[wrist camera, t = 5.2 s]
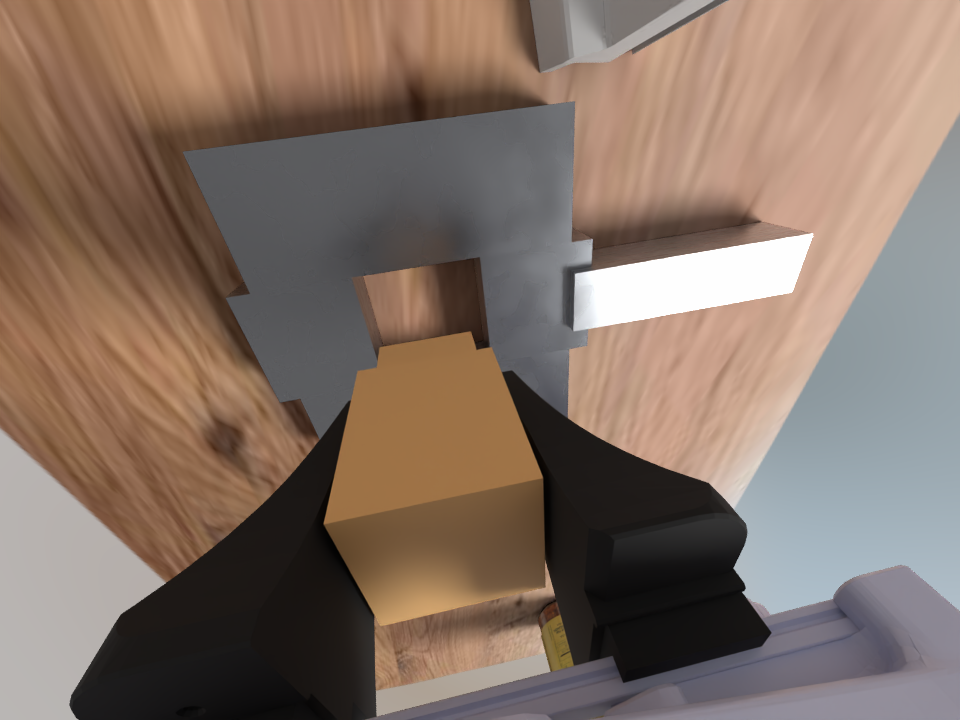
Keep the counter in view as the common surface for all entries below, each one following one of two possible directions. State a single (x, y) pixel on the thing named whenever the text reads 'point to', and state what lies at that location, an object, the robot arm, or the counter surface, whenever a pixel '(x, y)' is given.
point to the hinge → (606, 27)
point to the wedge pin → (436, 483)
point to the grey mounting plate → (450, 247)
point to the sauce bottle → (555, 639)
